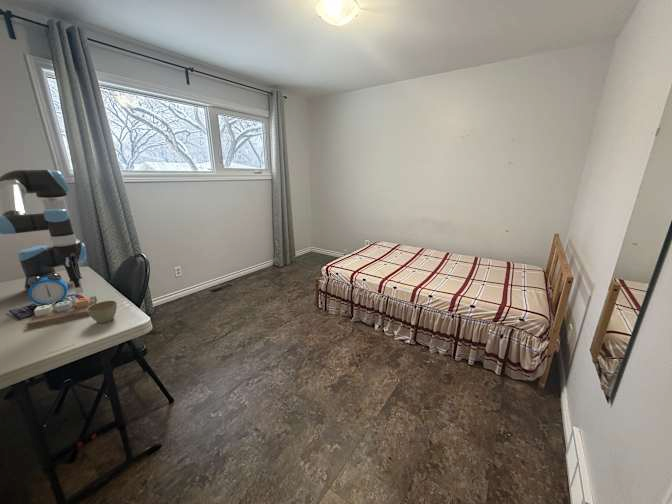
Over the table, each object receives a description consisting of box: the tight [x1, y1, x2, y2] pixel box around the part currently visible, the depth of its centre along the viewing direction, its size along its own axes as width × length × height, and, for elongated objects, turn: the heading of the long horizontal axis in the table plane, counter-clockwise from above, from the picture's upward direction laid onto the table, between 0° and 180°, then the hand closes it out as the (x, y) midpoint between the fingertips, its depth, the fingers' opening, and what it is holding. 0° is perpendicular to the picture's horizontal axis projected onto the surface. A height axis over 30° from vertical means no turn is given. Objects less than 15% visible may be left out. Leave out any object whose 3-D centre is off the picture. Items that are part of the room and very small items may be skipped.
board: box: [26, 295, 98, 329], centre depth 124 cm, size 18×20×2 cm
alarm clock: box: [27, 272, 69, 306], centre depth 133 cm, size 13×6×15 cm, turn 132°
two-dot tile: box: [55, 299, 73, 312], centre depth 124 cm, size 5×5×3 cm
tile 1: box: [33, 304, 53, 316], centre depth 120 cm, size 5×5×3 cm
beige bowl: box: [87, 300, 118, 324], centre depth 117 cm, size 10×10×7 cm
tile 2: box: [75, 296, 91, 308], centre depth 127 cm, size 5×5×3 cm
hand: (80, 292), depth 126 cm, fingers closed
